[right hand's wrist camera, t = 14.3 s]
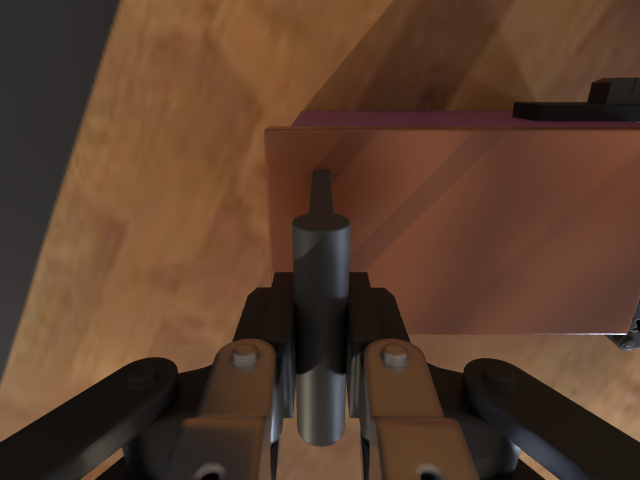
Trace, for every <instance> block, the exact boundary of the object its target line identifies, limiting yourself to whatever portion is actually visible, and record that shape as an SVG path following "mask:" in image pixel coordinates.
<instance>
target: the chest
mask: <svg viewBox="0 0 640 480" xmlns="http://www.w3.org/2000/svg"><path fill="white" fill-rule="evenodd" d="M512 114H513V111H302V112H301V113H300V114H299V116H298V117H297V119H296V120H295V121H294V123H293V124H292V126H291V127H640V123H638V122H629V121H533V120H527V119H522V118H516V117H512Z"/></svg>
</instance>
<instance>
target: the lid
mask: <svg viewBox="0 0 640 480" xmlns="http://www.w3.org/2000/svg"><path fill="white" fill-rule="evenodd" d="M264 140H265V160H266V180H267V200H268V220H269V241H270V261H271V281H272V282H273V278H274V274H275V272H293V284H294V302H295V334H296V371H297V373H296V394H297V429H298V433H299V435H300V436H301V438H302V439H303V440H304V441H305V442H307V443H309V444H311V445H314V446H328V445H331V444H333V443H335V442H337V441H338V440H339V439H340V438H341V436H342V435H343V433H344V429H345V396H346V344H347V310H348V296H349V272H367V273H368V277H369V281H370V285H371V288H386V289H387V290H388V291H389V292H390V293H391V294H393V295H394V297H395V299H396V302H397V305H398V308H399V311H400V314H401V317H402V320H403V322H404V325H405V328H406V331H407V334H599V335H626V334H628V331H629V328H630V325H631V322H632V319H633V316H634V313H635V310H636V307H637V304H638V301H639V298H640V127H268V128H266V129H265V130H264Z"/></svg>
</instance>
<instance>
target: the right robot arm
mask: <svg viewBox="0 0 640 480" xmlns="http://www.w3.org/2000/svg"><path fill="white" fill-rule="evenodd" d="M296 373H297V371H296V334H295V302H294V284H293V272H275V274H274V278H273V282H272V286H271V288H256V289H255V290H254V291H253V292H252V293H251V294H250V295H248V297H247V300H246V303H245V307H244V309H243V312H242V316H241V318H240V321H239V324H238V327H237V330H236V333H235V336H234V338H233V341H232V342H231V343H229V344H227V345H225V346H224V347H222V348H221V349H220V350H219V351H218V353H217V354H216V356H215V359H214V362H213V364H212V365H210V366H207V367H204V368H201V369H197V370H192V371H188V372H183V373H179V374H178V369H177V366H176V365H175V363H174V362H172V361H171V360H168V359H166V358H159V357H151V358H145V359H141V360H137V361H134V362H132V363H130V364H128V365H126V366H124V367H122V368H121V369H119V370H117V371H116V372H114V373H113V374H111V375H109V376H108V377H106V378H104V379H103V380H101V381H100V382H98V383H96V384H95V385H93V386H91V387H90V388H88V389H87V390H85V391H83V392H82V393H80V394H78V395H77V396H75V397H73V398H72V399H70V400H69V401H67V402H65V403H64V404H62V405H60V406H59V407H57V408H56V409H54V410H52V411H51V412H49V413H47V414H46V415H44V416H43V417H41V418H39V419H38V420H36V421H34V422H33V423H31V424H30V425H28V426H26V427H25V428H23V429H21V430H20V431H18V432H16V433H15V434H13V435H12V436H10V437H8V438H7V439H5V440H3V441H2V442H0V480H80V479H82V478H83V477H84V476H85V475H87V474H88V473H89V472H91V471H92V470H93V469H94V468H96V467H97V466H98V465H99V464H101V463H102V462H103V461H105V460H106V459H107V458H108V457H110V456H111V455H112V454H113V453H115V452H116V451H117V450H119V449H120V448H121V447H122V449H123V453H124V456H123V457H122V458H121V459H120V460H118V461H117V462H116V463H115V464H114V465H112V466H111V467H110V468H109V469H107V470H106V471H105V472H104V473H102V474H101V475H100V476H99V477H97V478H96V479H95V480H278V472H279V457H280V435H281V432H282V426H283V418H293V411H294V398H295V386H296ZM346 382H347V394H348V405H349V417H350V418H359V419H360V428H361V429H360V457H361V472H362V480H545V479H544V478H543V477H541V476H540V475H539V474H538V473H536V472H535V471H534V470H533V469H531V468H530V467H529V466H528V465H527V464H525V463H524V462H523V461H522V460H520V459H519V454H520V450H523V451H524V452H525V453H527V454H528V455H529V456H530V457H532V458H533V459H534V460H535V461H537V462H538V463H539V464H541V465H542V466H543V467H544V468H546V469H547V470H548V471H549V472H551V473H552V474H553V475H555V476H556V477H557V478H558V479H560V480H640V442H638V441H637V440H635V439H633V438H632V437H630V436H628V435H627V434H625V433H624V432H622V431H620V430H619V429H617V428H615V427H614V426H612V425H610V424H609V423H607V422H606V421H604V420H602V419H601V418H599V417H597V416H596V415H594V414H593V413H591V412H589V411H588V410H586V409H584V408H583V407H581V406H580V405H578V404H576V403H575V402H573V401H571V400H570V399H568V398H567V397H565V396H563V395H562V394H560V393H558V392H557V391H555V390H553V389H552V388H550V387H549V386H547V385H545V384H544V383H542V382H540V381H539V380H537V379H536V378H534V377H532V376H531V375H529V374H527V373H526V372H524V371H523V370H521V369H519V368H518V367H516V366H514V365H512V364H510V363H507V362H504V361H501V360H497V359H491V358H481V359H476V360H473V361H471V362H469V363H468V364H467V365H466V366H465V368H464V373H459V372H455V371H450V370H446V369H442V368H438V367H436V366H433V365H431V364H429V363H427V362H426V359H425V356H424V354H423V353H422V351H421V350H420V349H419V348H418V347H416V346H415V345H413V344H411V343H410V340H409V337H408V334H407V331H406V328H405V325H404V322H403V320H402V317H401V314H400V311H399V308H398V305H397V302H396V299H395V297H394V295H393V294H391V293H390V292H389V291H388V290H387V289H386V288H371V285H370V281H369V277H368V273H367V272H349V296H348V310H347V344H346Z"/></svg>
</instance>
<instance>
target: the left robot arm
mask: <svg viewBox="0 0 640 480" xmlns="http://www.w3.org/2000/svg"><path fill="white" fill-rule="evenodd" d="M512 117H516V118H522V119H527V120H533V121H629V122H640V78H602V79H600V80H597V81H595V82H592V85H591V89H590V94H589V98H588V102H515V103H514V108H513V114H512ZM605 336H606V337H607V338H609V339H610V340H611V341H612V342H613V343H614V344H615V345H617V346H618V347H619V348H620V349H622V350H632V349H637V348H640V298H639V301H638V304H637V307H636V310H635V313H634V316H633V319H632V322H631V325H630V328H629V331H628V334H626V335H605Z"/></svg>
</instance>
